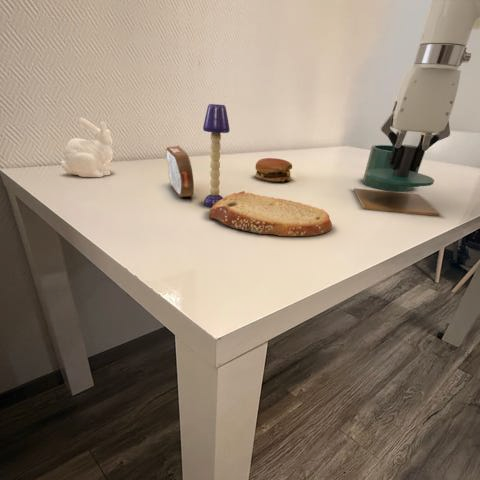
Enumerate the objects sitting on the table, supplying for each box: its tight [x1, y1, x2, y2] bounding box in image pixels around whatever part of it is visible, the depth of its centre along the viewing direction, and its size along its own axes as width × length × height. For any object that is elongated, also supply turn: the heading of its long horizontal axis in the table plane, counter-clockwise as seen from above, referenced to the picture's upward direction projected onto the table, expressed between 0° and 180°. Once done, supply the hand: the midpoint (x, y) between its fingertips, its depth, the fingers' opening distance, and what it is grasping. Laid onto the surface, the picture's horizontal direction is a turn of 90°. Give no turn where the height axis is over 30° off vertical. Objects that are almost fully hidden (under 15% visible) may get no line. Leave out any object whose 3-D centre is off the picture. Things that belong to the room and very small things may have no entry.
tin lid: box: [367, 144, 435, 188], centre depth 70 cm, size 13×13×7 cm
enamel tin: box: [362, 144, 426, 192], centre depth 85 cm, size 12×12×8 cm
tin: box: [165, 145, 195, 198], centre depth 69 cm, size 15×3×8 cm, turn 20°
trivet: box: [353, 187, 440, 217], centre depth 74 cm, size 15×15×1 cm
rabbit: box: [60, 116, 114, 178], centre depth 75 cm, size 12×9×12 cm
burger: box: [255, 157, 293, 183], centre depth 85 cm, size 10×9×5 cm
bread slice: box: [208, 190, 333, 237], centre depth 58 cm, size 18×18×4 cm
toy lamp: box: [202, 103, 231, 208], centre depth 61 cm, size 5×5×17 cm
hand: (402, 168), depth 70 cm, fingers closed on tin lid, 3 cm apart
